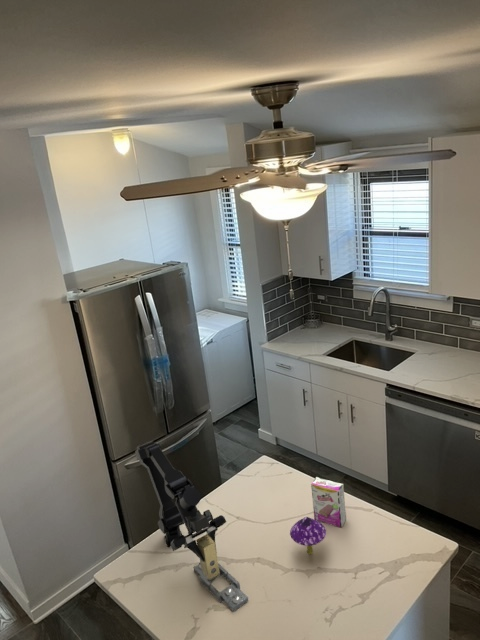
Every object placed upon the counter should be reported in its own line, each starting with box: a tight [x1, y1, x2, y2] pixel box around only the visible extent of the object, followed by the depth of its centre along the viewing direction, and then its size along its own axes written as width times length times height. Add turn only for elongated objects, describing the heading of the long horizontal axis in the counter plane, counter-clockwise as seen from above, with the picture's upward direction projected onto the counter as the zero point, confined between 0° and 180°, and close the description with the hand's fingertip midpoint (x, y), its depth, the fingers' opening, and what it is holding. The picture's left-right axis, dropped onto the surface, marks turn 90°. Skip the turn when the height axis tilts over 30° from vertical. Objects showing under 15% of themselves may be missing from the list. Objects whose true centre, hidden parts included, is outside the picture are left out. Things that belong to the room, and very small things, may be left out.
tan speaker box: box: [195, 533, 220, 580], centre depth 168 cm, size 5×4×12 cm
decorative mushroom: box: [289, 516, 327, 555], centre depth 179 cm, size 12×12×15 cm
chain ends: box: [193, 562, 249, 612], centre depth 173 cm, size 23×8×2 cm, turn 37°
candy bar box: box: [310, 476, 347, 528], centre depth 194 cm, size 11×5×16 cm, turn 58°
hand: (210, 558), depth 167 cm, fingers closed on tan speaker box, 4 cm apart
